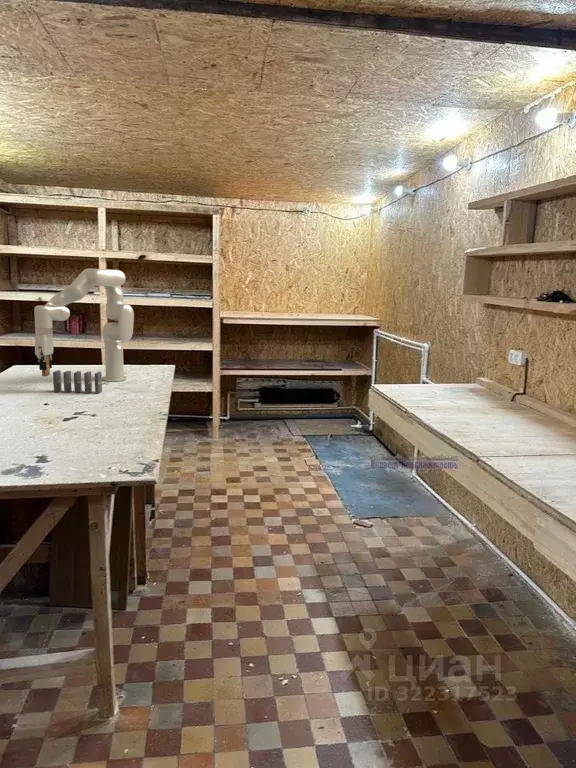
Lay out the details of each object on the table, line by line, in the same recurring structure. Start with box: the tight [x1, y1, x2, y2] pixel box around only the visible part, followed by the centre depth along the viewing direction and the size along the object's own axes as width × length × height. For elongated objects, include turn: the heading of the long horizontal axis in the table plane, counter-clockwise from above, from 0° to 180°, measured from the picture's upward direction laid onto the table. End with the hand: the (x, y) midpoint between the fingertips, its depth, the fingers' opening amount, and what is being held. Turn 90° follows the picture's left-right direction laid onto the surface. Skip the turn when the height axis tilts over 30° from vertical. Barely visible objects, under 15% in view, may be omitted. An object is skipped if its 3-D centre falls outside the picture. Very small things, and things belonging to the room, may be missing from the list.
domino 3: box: [62, 370, 73, 394], centre depth 250 cm, size 2×5×10 cm, turn 1°
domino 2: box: [52, 369, 62, 393], centre depth 250 cm, size 2×5×10 cm, turn 1°
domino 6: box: [94, 371, 103, 395], centre depth 250 cm, size 2×5×10 cm, turn 1°
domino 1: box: [41, 355, 51, 378], centre depth 248 cm, size 2×5×10 cm, turn 1°
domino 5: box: [83, 371, 93, 395], centre depth 250 cm, size 2×5×10 cm, turn 1°
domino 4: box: [73, 370, 83, 394], centre depth 250 cm, size 2×5×10 cm, turn 1°
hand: (45, 368), depth 249 cm, fingers closed on domino 1, 4 cm apart
